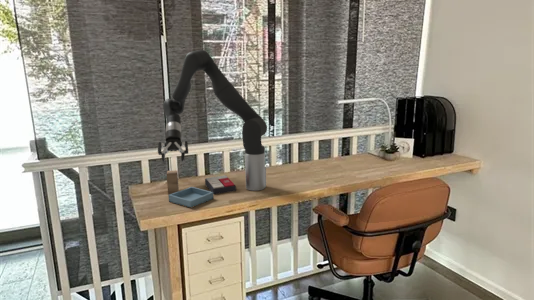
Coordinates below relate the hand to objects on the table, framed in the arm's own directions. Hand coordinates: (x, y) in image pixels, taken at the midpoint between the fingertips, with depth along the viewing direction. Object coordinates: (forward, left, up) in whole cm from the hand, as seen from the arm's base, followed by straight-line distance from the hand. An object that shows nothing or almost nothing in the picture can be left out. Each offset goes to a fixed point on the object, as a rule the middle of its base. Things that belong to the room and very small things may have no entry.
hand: (173, 161), depth 188 cm
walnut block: (+6, +6, -13) cm, 15 cm away
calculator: (-11, +19, -13) cm, 26 cm away
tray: (+8, +20, -13) cm, 25 cm away
